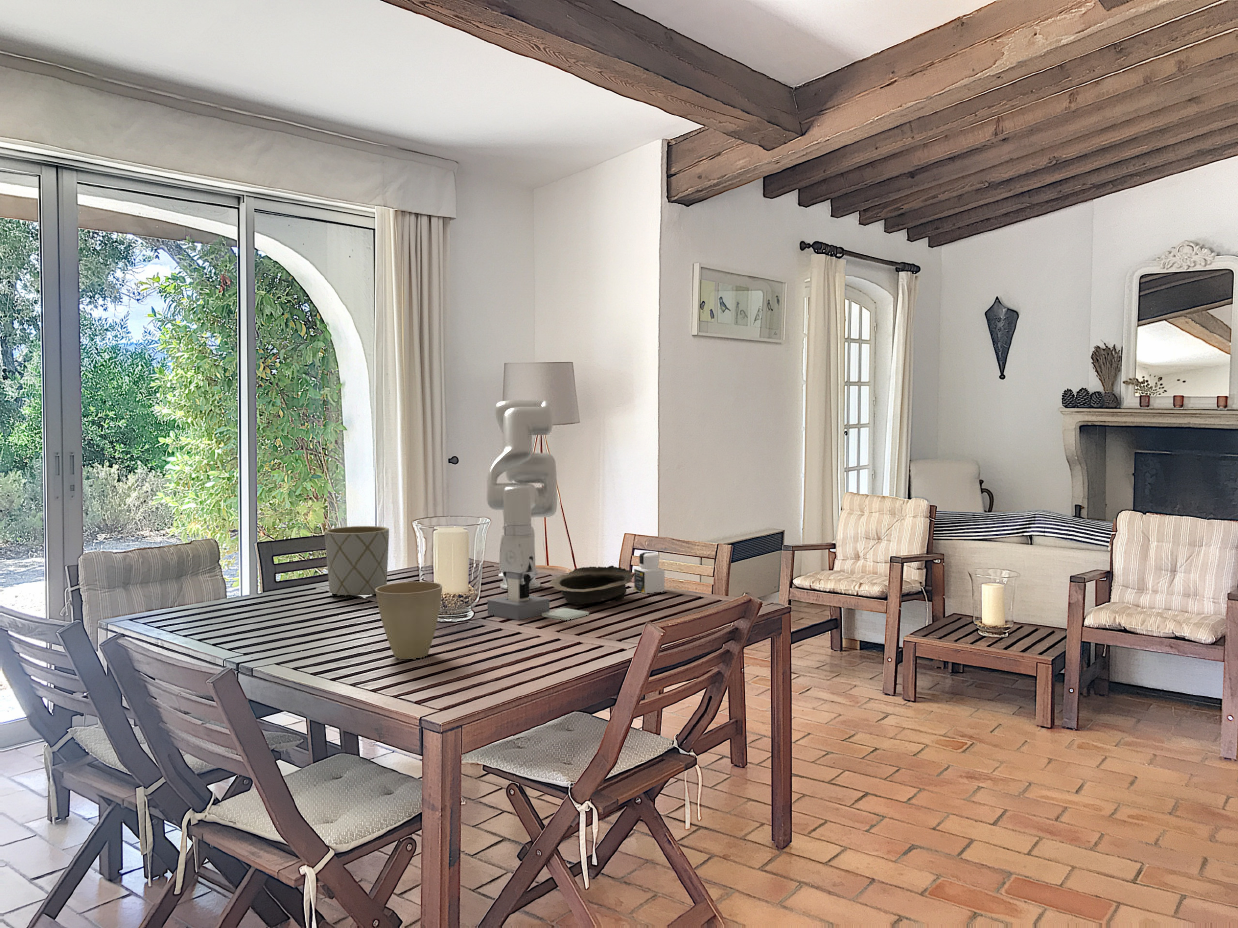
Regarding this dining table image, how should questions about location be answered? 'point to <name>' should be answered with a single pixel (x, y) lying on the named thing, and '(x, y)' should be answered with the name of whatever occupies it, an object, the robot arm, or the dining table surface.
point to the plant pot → (409, 616)
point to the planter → (357, 559)
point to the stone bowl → (593, 584)
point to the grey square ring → (518, 607)
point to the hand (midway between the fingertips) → (518, 596)
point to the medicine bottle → (649, 574)
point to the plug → (514, 586)
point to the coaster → (565, 614)
